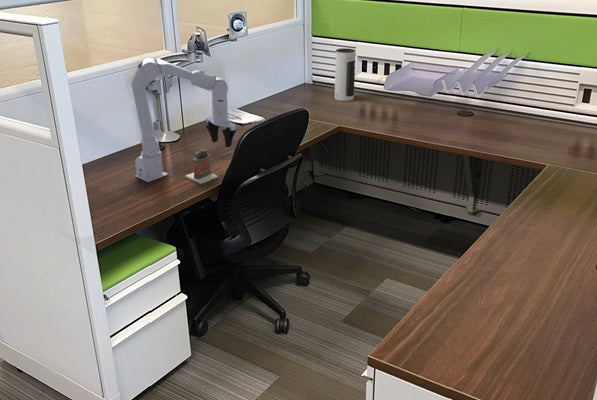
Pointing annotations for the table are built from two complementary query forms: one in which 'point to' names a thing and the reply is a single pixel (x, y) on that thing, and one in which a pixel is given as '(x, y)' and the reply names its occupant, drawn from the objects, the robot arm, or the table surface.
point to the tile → (201, 180)
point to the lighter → (201, 164)
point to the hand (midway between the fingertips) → (221, 144)
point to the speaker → (344, 74)
